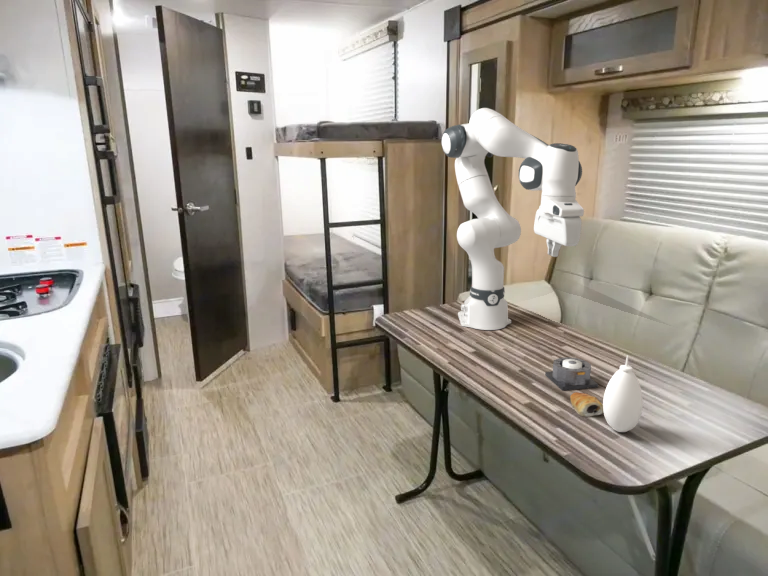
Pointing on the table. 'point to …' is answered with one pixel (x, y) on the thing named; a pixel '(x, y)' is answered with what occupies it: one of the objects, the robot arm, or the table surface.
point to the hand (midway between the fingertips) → (552, 255)
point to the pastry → (586, 404)
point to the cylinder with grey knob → (572, 364)
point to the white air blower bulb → (623, 400)
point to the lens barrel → (571, 375)
